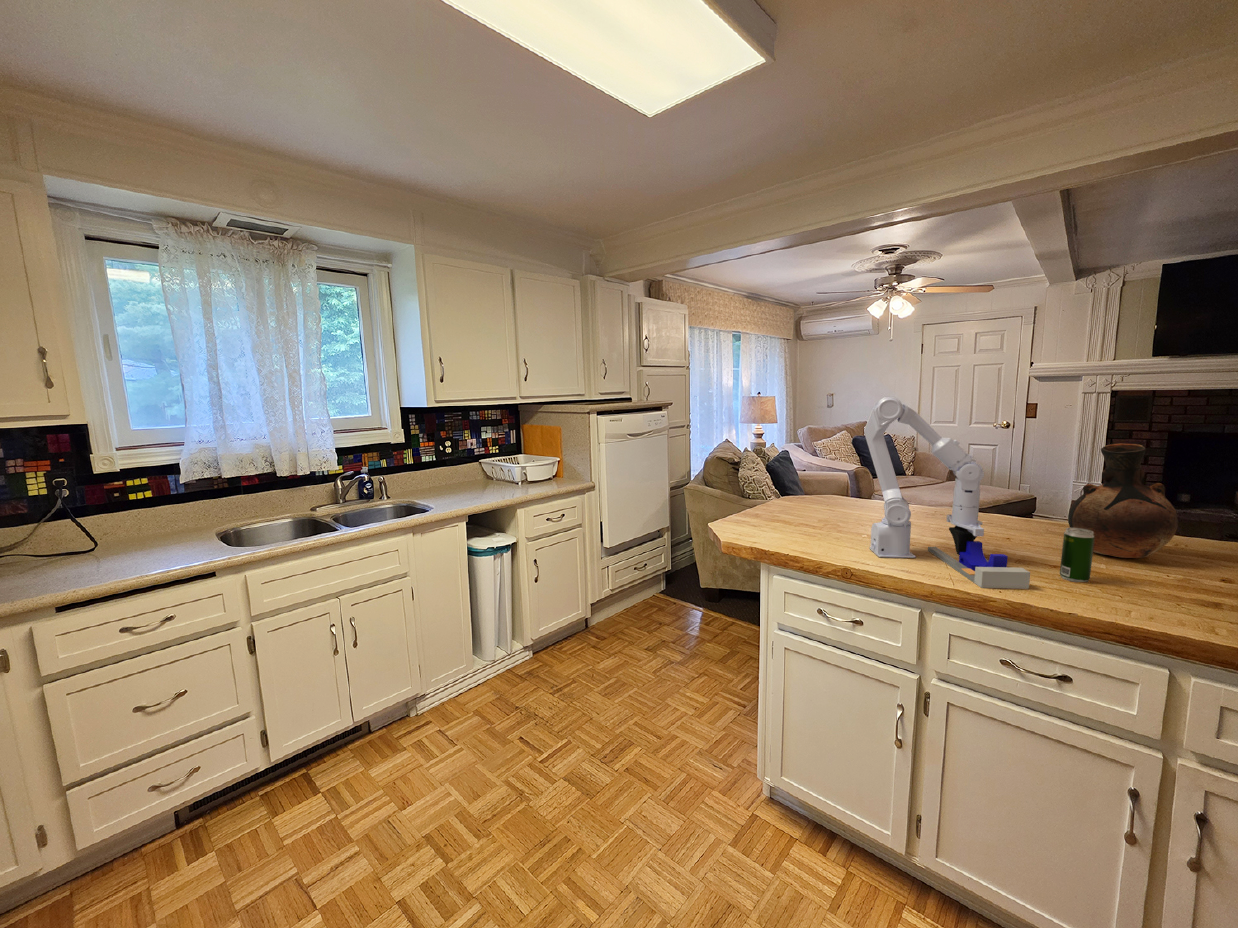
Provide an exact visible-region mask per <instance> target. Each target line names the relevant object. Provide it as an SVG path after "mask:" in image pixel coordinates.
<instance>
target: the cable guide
mask: <svg viewBox="0 0 1238 928" xmlns="http://www.w3.org/2000/svg"><path fill="white" fill-rule="evenodd" d="M927 551H928V552H930V554H932V553H933V554H934V555H933V554H932V555H933V556H935V557H936V558H938V559H939V558H940V559H939V560H941V561H942V562H943V563H945V564H946V563H947V564H946V565H948V566H949V567H950V568H952V569H954V570H955V571H957V572H958V573H959V572H960V574H961V575H962V576H963V577H965V578H966V577H967V578H966V579H968V580H970V581H971V582H973V583H974V584H975V585H976V586H978V587H979V588H981V589H1014V590H1015V589H1016V590H1020V589H1022V590H1029V589H1030V580H1031V571H1029V570H1028V569H1025V568H1023V567H1013V566H1012V567H1010V566H1009V567H1008V566H1007V567H975V571H973V570H972V569H970V568H967V567H966V566H964V565H963V564H961V563H960V562H959V560H957V559H955V558H953V557H952V556H951V555H949V554H948V553H946V552H945V551H943V550H941V548H938V547H937V546H928V547H927ZM985 559H986V561H987V562H988V561H989V559H988V558H986V557H985Z"/></svg>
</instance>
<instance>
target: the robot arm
mask: <svg viewBox="0 0 1238 928" xmlns="http://www.w3.org/2000/svg"><path fill="white" fill-rule="evenodd" d="M896 420H897V422H898V423H901V424H905V425H908V426H910V427H911V428H912V429H913V430H914V431H916V433H917V434H919V436H921V437H922V438H923V439H924V440H925V441H927V442H928V443H929V444H930V446H931V448H930V449H931V450H930V452H931V454H932V455H933V456H934V457H935V458H937V459H938V461H940V462H941V463H942V464H943V465H944V466H945V467H946V468H947V469H948V470H949V471H950V470H951V471H952V473H953V475H954V476H956V477H955V480H954V481H955V482H954V487H953V495H952V498H953V499H952V508H951V514H947V515H946V522H947V523H950V524H952V525H953V526H952V527H951V526H950V527H948V531H949V533H950V535H951V536H952V539H953V542H954V547H955V551H956V552H955V553H956V555H957V556H959V555H960V552H966V543H967V541H976V540H975V539H977V537H984V535H985V528H983V527H982V525H983V522H982V521H980V520H979V510H980V509H979V508H980V500H981V499H980V498H981V497H980V496H981V481H982V480H983V478H984V476H985V473H984V471H983V467H982V466H981V465H980V464H979V463H978V462H976V460H975V459H974V456H973V455H972V454H971V453H969V454H968V453H967V451H965V450H964V449H963V448H962V447H961V446H960V442H959V441H958V440H957V439H952V438H951V437H942V435H940V434H939V433H938V432H937V431H936V430H935V429H934V428H933V427H932V426H931V425H930V424H929V423H928V422H927V421H926V420H925V419H924V418H923V417H922V416H921V415H920V414H919V413H918V412H917V411H915V410H914V409H913V408H911V407H910V406H908V405H907V404H905V403H902V401H901V400H899V399H898V398H897V397H895V396H891V395H888V396H884V397H882V398H880V399H879V400H878V401H877V402H876V403H875V405H874V406H873V407H872V409H871V411H870V414H869V417H868V419H867V422H866V424H865V426H864V431H863V432H864V433H863V434H864V437H865V440H866V444H867V447H868V450H869V453H870V456H871V460H872V463H873V466H874V470H875V473H876V476H877V480H878V482H879V486H880V490H881V493H882V496H883V502H884V503H883V509H884V517H883V518H881V521H879V522H874V523H872V525H871V530H870V546H869V549H870V550H871V551H872V552H873V553H874V554H875V555H876V556H877V557H878V558H904V559H905V558H908V559H910V558H912V559H913V558H914V559H915V558H916V555H915V554H913V553H912V552H911V550H910V549H911V548H910V547H911V531H912V522H911V521H910V519H911V517H912V512H911V509H910V505H909V503H908V500H906V498H905V497H903V495H902V491H901V489H900V486H899V482H898V479H897V476H896V473H895V469H894V466H893V462H892V459H891V456H890V451H889V449H888V446H887V443H886V439H885V435H884V433H885V432H886V430H888V428H889V426H890V425H891V424H892V423H894V422H895V421H896Z"/></svg>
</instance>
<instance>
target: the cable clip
mask: <svg viewBox="0 0 1238 928" xmlns="http://www.w3.org/2000/svg"><path fill="white" fill-rule="evenodd" d="M958 556H959V558H958V562H960V563H961V564H963V565H964V566H966V567H967V568H970V569H972V570H973V571H975V567H1008V555H1007V554H1004V553H1003V554H1002V553H994V554H993V553H990V555H989V559H988V560H989V561H988V562H987V561H986V559H987V558H986V556H985V554H984V550H983V542H981V541H980V540H974V541H967V543H966V552H960V555H958ZM985 558H986V559H985Z"/></svg>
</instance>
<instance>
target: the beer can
mask: <svg viewBox="0 0 1238 928" xmlns="http://www.w3.org/2000/svg"><path fill="white" fill-rule="evenodd" d="M1094 539H1095V536H1094V532H1093V531H1091V530H1088V529H1082V528H1070V527H1066V528H1065V531H1064V532H1063V538H1062V547H1061V548H1062V549H1061V557H1060V568H1059V569H1060V570H1059V576H1060V578H1061V579H1063V580H1065V581H1068V582H1072V583H1073V582H1074V583H1078V582H1086V583H1088V582H1089V581H1090V579H1091V574H1092V564H1093V556H1094V555H1093V554H1094V552H1093V548H1094Z"/></svg>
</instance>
